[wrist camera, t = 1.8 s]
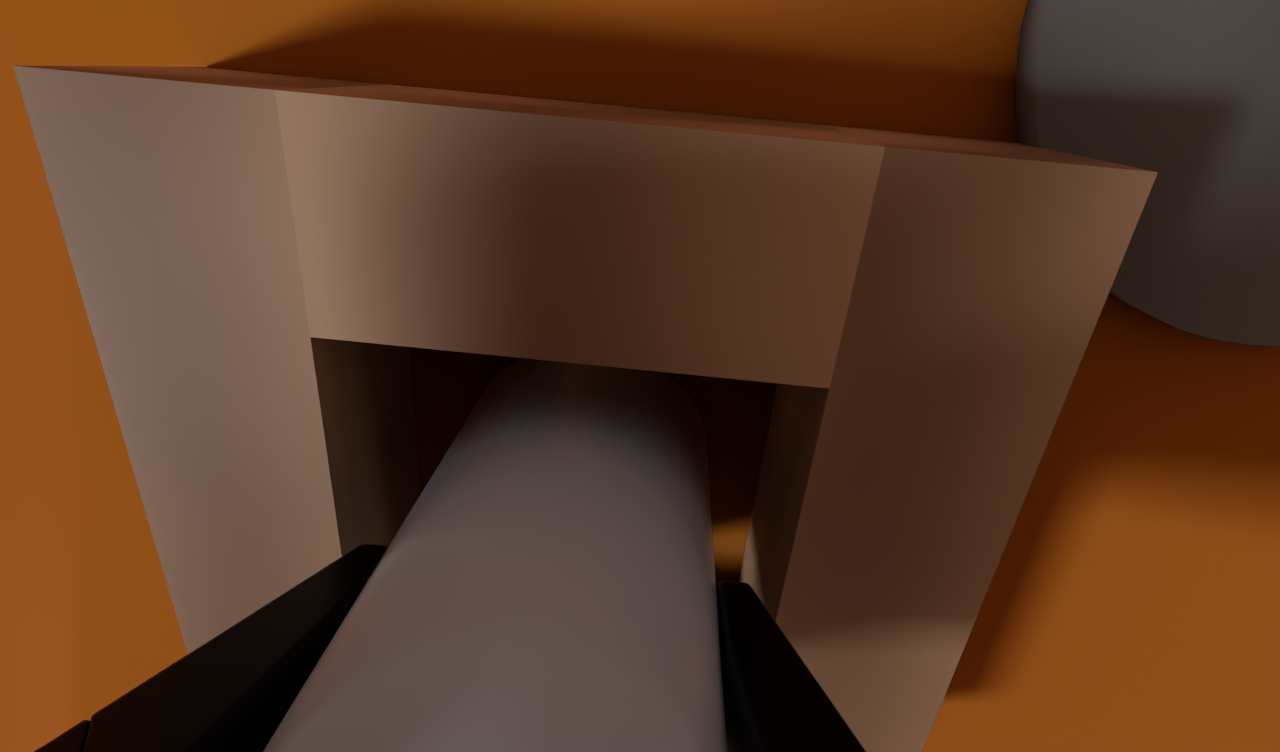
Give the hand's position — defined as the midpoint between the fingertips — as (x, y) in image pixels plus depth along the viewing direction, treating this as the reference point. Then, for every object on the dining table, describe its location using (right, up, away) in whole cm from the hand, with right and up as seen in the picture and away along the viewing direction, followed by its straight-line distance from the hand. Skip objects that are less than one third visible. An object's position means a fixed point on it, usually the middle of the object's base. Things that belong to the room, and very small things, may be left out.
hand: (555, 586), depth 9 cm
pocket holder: (0, +1, +3) cm, 3 cm away
